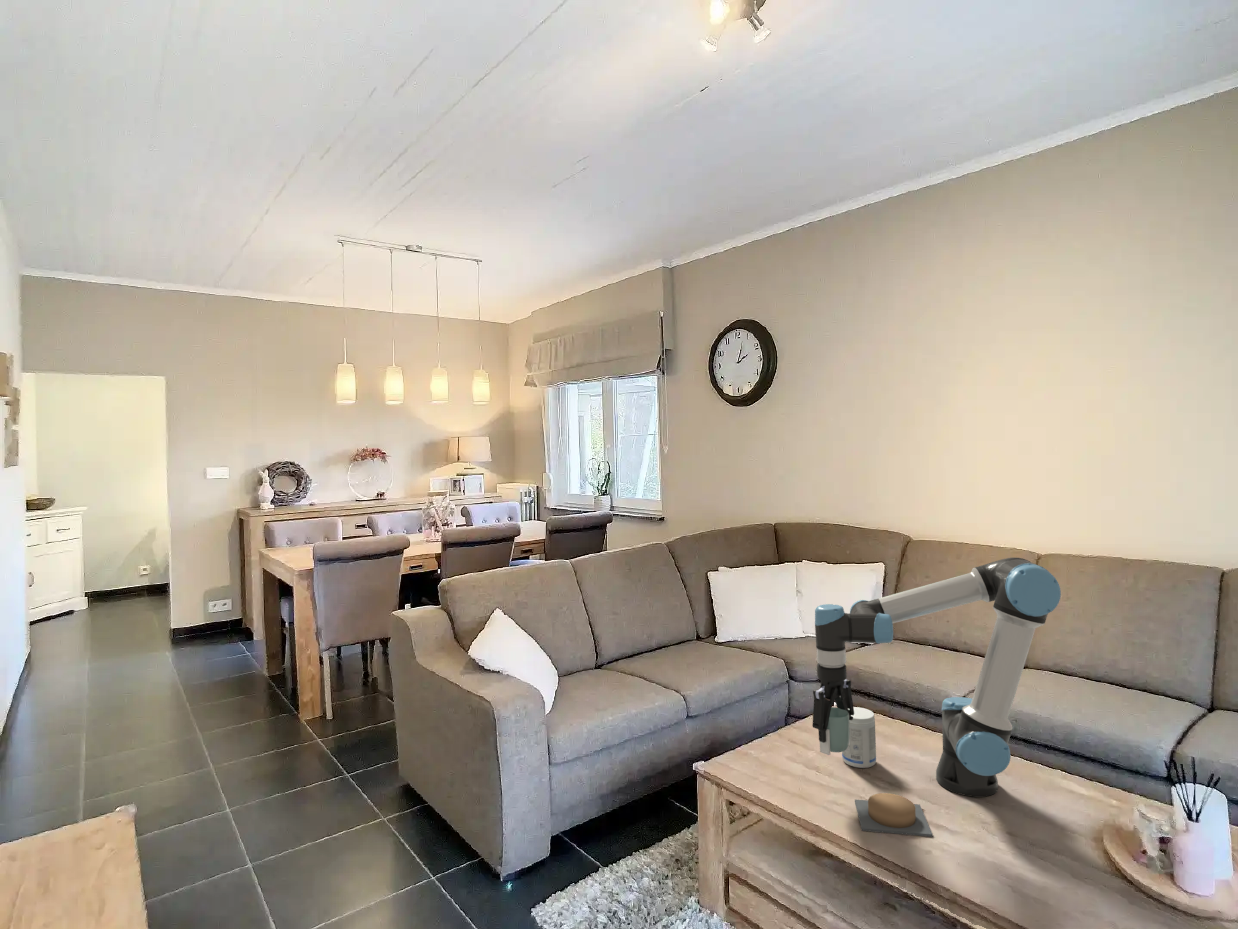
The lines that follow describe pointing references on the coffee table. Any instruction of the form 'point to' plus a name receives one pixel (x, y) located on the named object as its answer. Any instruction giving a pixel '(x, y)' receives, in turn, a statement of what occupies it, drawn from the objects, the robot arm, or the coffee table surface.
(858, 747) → the supplement tub
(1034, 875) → the coffee table surface
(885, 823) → the stand
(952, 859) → the coffee table surface
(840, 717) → the cup
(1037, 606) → the robot arm
